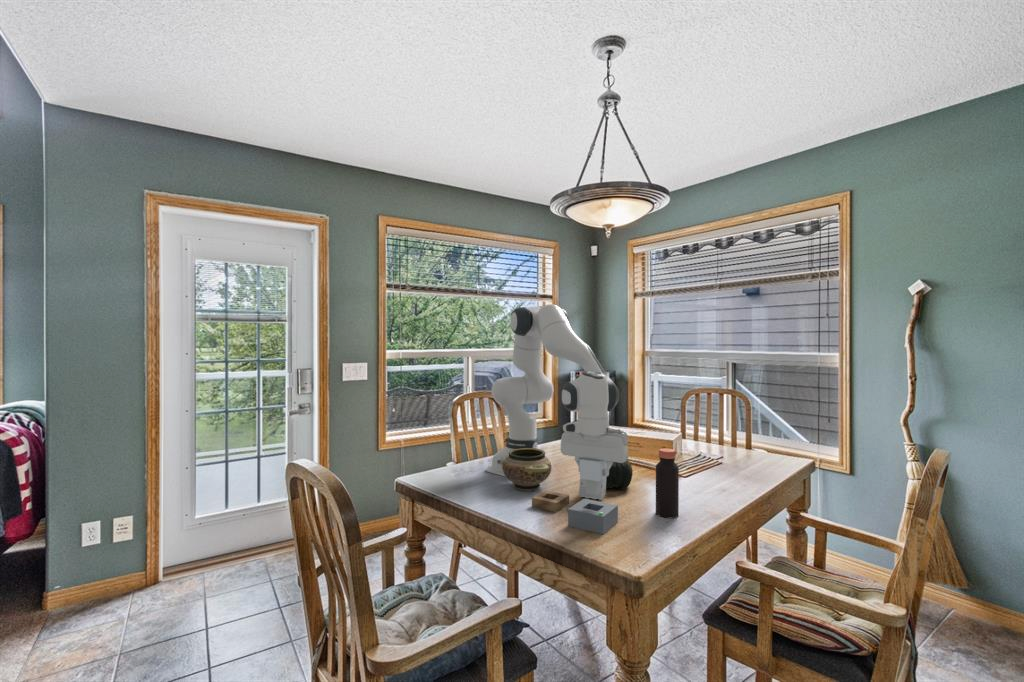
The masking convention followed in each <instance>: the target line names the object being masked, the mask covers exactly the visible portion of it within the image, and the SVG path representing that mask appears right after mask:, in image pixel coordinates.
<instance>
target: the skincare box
mask: <svg viewBox="0 0 1024 682" xmlns="http://www.w3.org/2000/svg"><path fill="white" fill-rule="evenodd" d="M606 491H607V489H606V478H604V479H602V492H601V493H600V494H598V495H592V494H586V479H580V478H579V492H578V494H579V495H578V497H579V498H581V497H585V498H584V499H589V498H593V499H592V500H596V499H599V500H598V501H603V500H604V498H605V497H606V496H607V492H606ZM605 495H606V496H605Z"/></svg>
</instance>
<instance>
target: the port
mask: <svg viewBox="0 0 1024 682" xmlns="http://www.w3.org/2000/svg"><path fill="white" fill-rule="evenodd" d="M618 522H619V504H614V503H608V502H605V501H604V502H603V501H600V500H595V499H589V498H582V499H581V500H580V501H578V502H577V503H575V504H573V505H572V506H571V507H569V508H568V509H567V527H570V528H573V529H580V530H583V531H587V532H591V533H595V534H599V535H600V534H601V535H605V533H607V532H609V531H610V530H611V529H612V528H613V527H614V526H615V525H616V524H617V523H618Z"/></svg>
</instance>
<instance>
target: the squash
mask: <svg viewBox="0 0 1024 682" xmlns="http://www.w3.org/2000/svg"><path fill="white" fill-rule="evenodd" d="M633 471H634V470H633V467H632V464H631V462H630V461H629V458H628V459H627V460H626V461H625V462H623V463H618V462H613V464H612V466H611V467H610V469H609V476H607V477H606V488H608V489H613V488H617V489H618V488H619V490H625V489H627V488H628V487H629V486H630V484H631V481H632V479H633V473H634V472H633Z"/></svg>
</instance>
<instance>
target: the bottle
mask: <svg viewBox="0 0 1024 682" xmlns="http://www.w3.org/2000/svg"><path fill="white" fill-rule="evenodd" d="M676 453H677V452H676V450H675V449H673V448H663V447H662V448H660V449H659V450H658V458H659V462H657V464H656V465H655V514H656V515H657V516H659V515H660V516H659V517H662V516H663V517H662V518H667V517H673V518H677V517H678V516H679V511H680V510H679V507H680V506H679V500H680V498H679V497H680V496H679V495H680V493H679V490H680V489H679V488H680V487H679V486H680V485H679V482H680V481H679V480H680V479H679V477H680V475H679V473H680V472H679V469H680V468H679V465H677V463H676V461H675V460H676V457H677V456H676ZM676 516H677V517H676Z"/></svg>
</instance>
